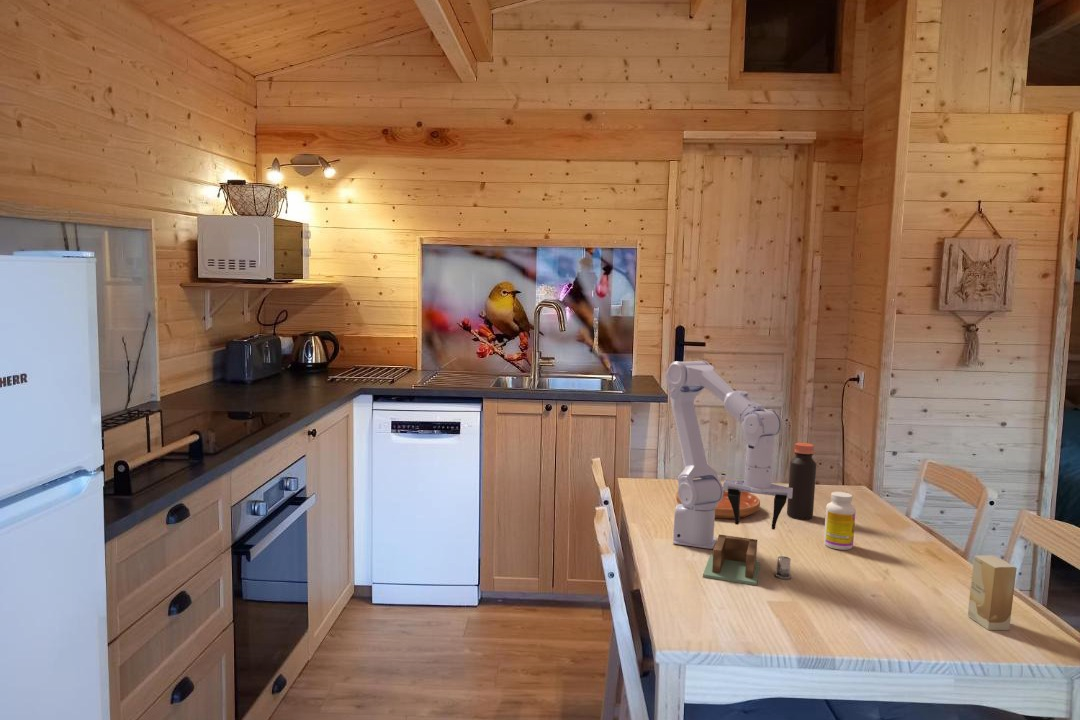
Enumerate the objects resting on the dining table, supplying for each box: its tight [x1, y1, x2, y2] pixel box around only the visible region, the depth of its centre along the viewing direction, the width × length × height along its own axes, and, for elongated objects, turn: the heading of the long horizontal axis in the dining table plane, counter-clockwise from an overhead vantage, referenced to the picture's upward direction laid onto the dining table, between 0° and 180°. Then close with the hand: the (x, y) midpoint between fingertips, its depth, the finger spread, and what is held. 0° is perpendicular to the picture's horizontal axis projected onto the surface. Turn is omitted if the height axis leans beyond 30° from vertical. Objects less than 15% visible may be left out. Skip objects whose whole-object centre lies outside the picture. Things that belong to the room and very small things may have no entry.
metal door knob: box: [774, 555, 792, 581], centre depth 160 cm, size 3×3×4 cm
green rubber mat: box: [702, 554, 761, 586], centre depth 163 cm, size 11×13×1 cm
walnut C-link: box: [712, 534, 758, 578], centre depth 163 cm, size 8×11×5 cm
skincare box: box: [967, 554, 1017, 631], centre depth 140 cm, size 6×4×12 cm
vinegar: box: [786, 442, 817, 521], centre depth 204 cm, size 7×7×20 cm
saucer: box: [675, 490, 761, 519], centre depth 210 cm, size 23×23×4 cm
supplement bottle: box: [823, 491, 856, 551], centre depth 181 cm, size 7×7×13 cm
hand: (755, 525), depth 165 cm, fingers open, 7 cm apart
